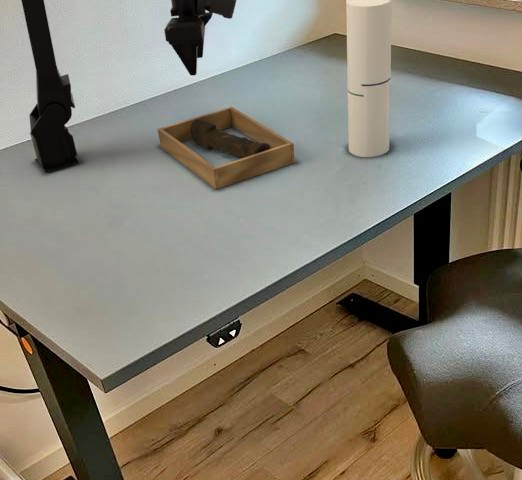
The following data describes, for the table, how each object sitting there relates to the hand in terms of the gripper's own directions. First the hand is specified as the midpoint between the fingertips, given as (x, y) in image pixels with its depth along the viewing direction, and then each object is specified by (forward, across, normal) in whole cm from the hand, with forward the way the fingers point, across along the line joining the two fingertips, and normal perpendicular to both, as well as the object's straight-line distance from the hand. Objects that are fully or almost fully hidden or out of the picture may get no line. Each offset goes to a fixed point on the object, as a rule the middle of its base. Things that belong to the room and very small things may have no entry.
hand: (196, 66), depth 144 cm
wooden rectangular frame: (+13, -9, -5) cm, 17 cm away
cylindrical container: (+13, -10, -30) cm, 35 cm away
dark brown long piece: (+13, -9, -5) cm, 17 cm away
